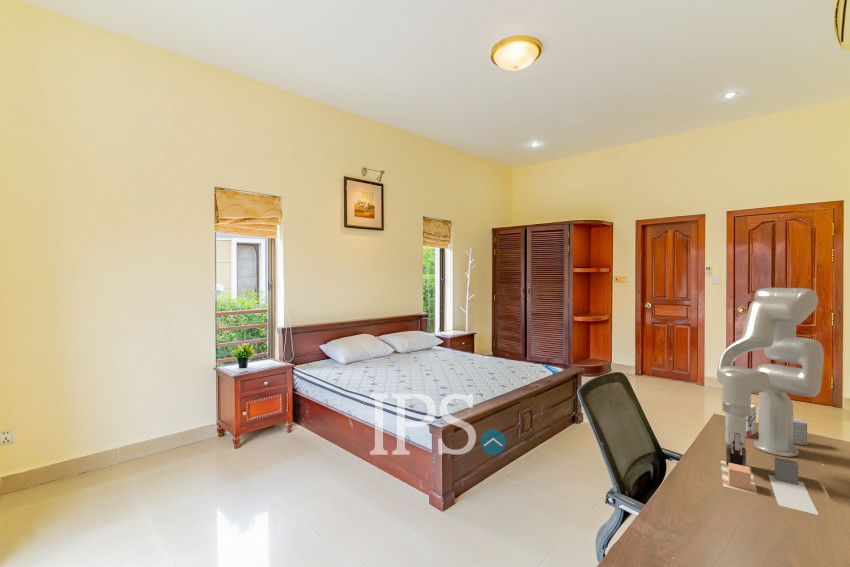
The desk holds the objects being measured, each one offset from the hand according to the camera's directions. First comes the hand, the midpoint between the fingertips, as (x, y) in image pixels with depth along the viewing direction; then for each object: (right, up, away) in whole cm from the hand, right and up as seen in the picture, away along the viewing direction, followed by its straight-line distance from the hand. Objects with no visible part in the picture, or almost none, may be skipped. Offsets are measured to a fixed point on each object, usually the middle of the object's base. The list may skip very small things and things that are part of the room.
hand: (735, 462), depth 130 cm
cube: (-8, -1, -12) cm, 15 cm away
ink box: (+27, -2, +29) cm, 39 cm away
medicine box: (+38, -2, +21) cm, 43 cm away
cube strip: (-5, -2, -7) cm, 9 cm away
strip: (+3, -3, -17) cm, 17 cm away
